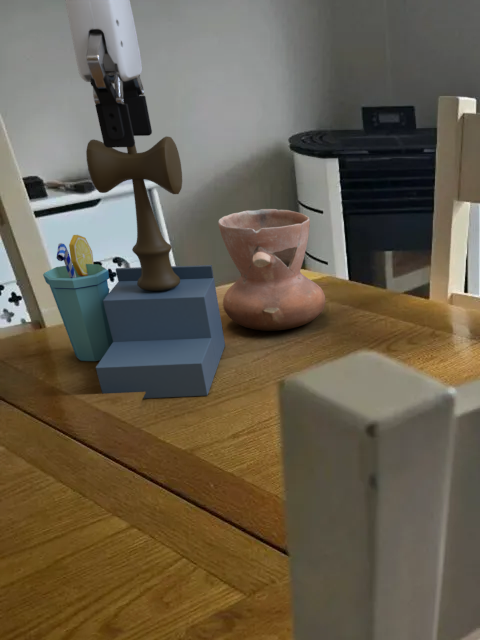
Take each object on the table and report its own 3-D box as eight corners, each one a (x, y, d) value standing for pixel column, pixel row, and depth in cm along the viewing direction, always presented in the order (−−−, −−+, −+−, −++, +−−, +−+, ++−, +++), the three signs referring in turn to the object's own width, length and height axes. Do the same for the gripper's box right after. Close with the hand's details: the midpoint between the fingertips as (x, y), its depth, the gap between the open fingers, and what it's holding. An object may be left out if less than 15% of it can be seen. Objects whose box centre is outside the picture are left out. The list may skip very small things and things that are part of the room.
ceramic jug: (324, 340, 114) (313, 230, 105) (218, 343, 113) (198, 232, 105) (330, 302, 128) (321, 202, 120) (236, 305, 128) (221, 204, 119)
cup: (123, 372, 104) (93, 246, 96) (58, 378, 103) (21, 251, 94) (130, 337, 115) (103, 222, 107) (71, 342, 114) (39, 225, 105)
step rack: (104, 400, 97) (79, 310, 91) (135, 349, 112) (116, 267, 105) (207, 395, 98) (190, 305, 92) (225, 345, 113) (211, 264, 106)
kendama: (193, 294, 101) (158, 104, 89) (114, 295, 101) (68, 105, 89) (204, 281, 106) (172, 99, 94) (128, 282, 105) (87, 100, 94)
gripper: (74, -47, 90) (113, 132, 100) (25, -56, 76) (75, 152, 86) (145, -47, 91) (175, 131, 101) (108, -56, 77) (149, 151, 87)
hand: (129, 140), depth 94 cm, fingers open, 9 cm apart
